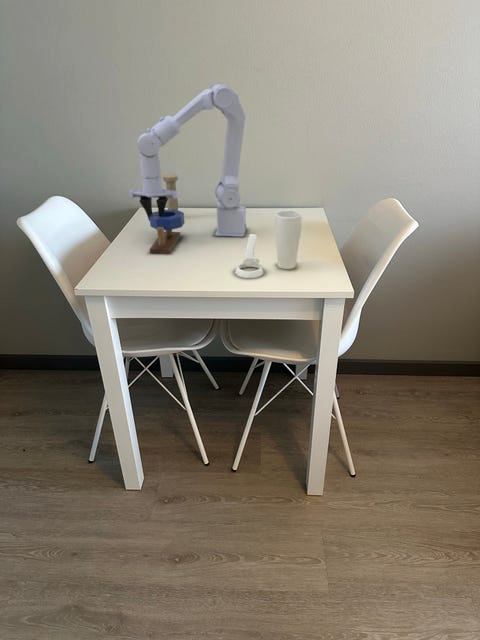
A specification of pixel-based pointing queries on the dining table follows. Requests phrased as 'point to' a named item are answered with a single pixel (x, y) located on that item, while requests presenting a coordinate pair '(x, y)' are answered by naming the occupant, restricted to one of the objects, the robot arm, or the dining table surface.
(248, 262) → the white stemmed ring
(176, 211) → the ring
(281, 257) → the drinking glass
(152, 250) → the rack
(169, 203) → the handle
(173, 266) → the dining table surface
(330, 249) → the dining table surface
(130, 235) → the dining table surface
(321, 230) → the dining table surface
